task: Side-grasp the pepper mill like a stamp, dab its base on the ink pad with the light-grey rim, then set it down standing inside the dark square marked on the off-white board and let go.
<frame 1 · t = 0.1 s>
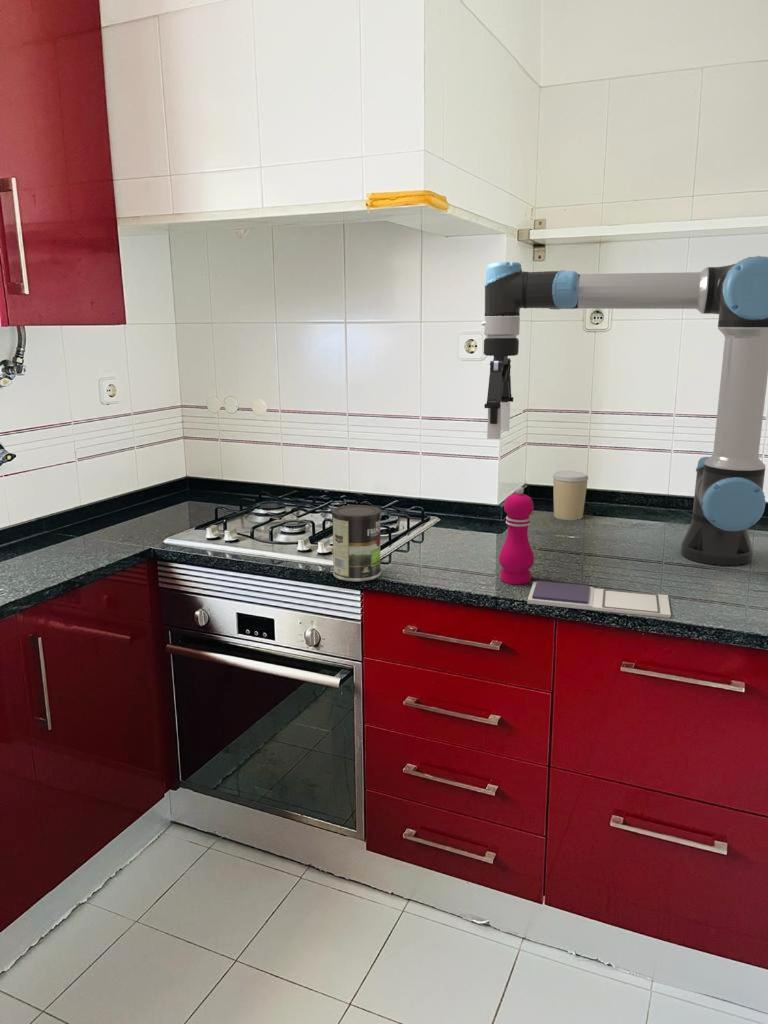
hand: (498, 434, 175), 28 cm above the worktop, tool pointing down, fingers open, 13 cm apart
coffee cup: (568, 517, 217), on the worktop
coffee can: (356, 574, 168), on the worktop
pepper mill: (515, 580, 165), on the worktop
ink pad: (561, 597, 154), on the worktop
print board: (630, 603, 151), on the worktop
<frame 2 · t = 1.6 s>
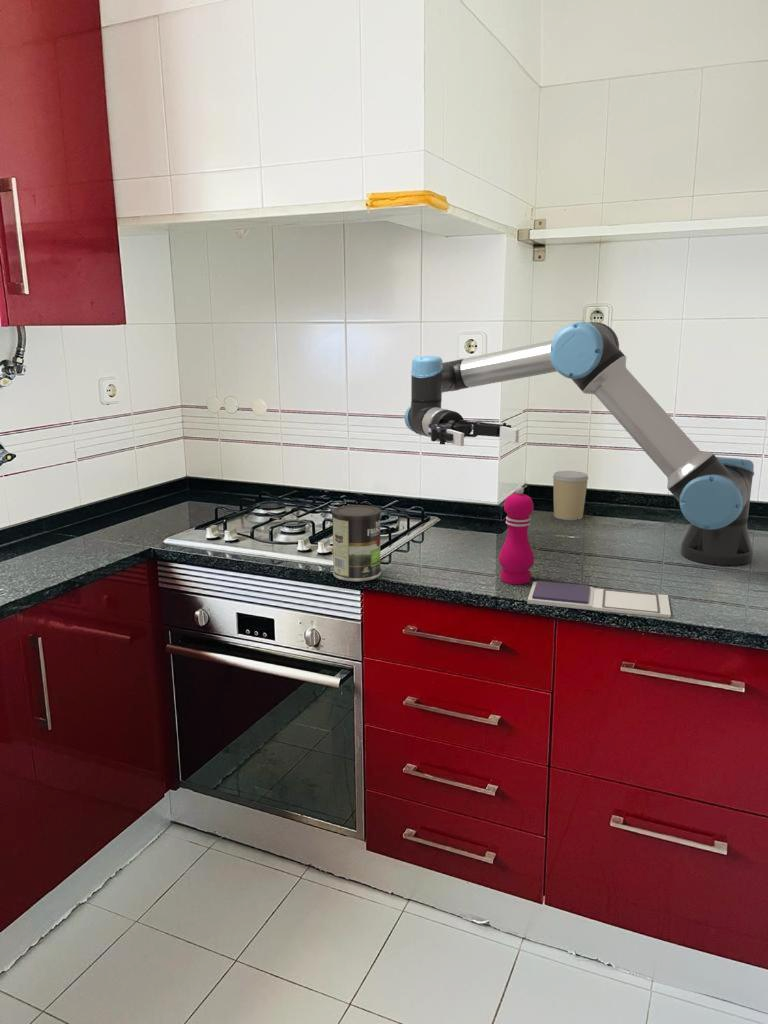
hand: (490, 438, 169), 28 cm above the worktop, tool horizontal, fingers open, 13 cm apart
nothing on the worktop moved.
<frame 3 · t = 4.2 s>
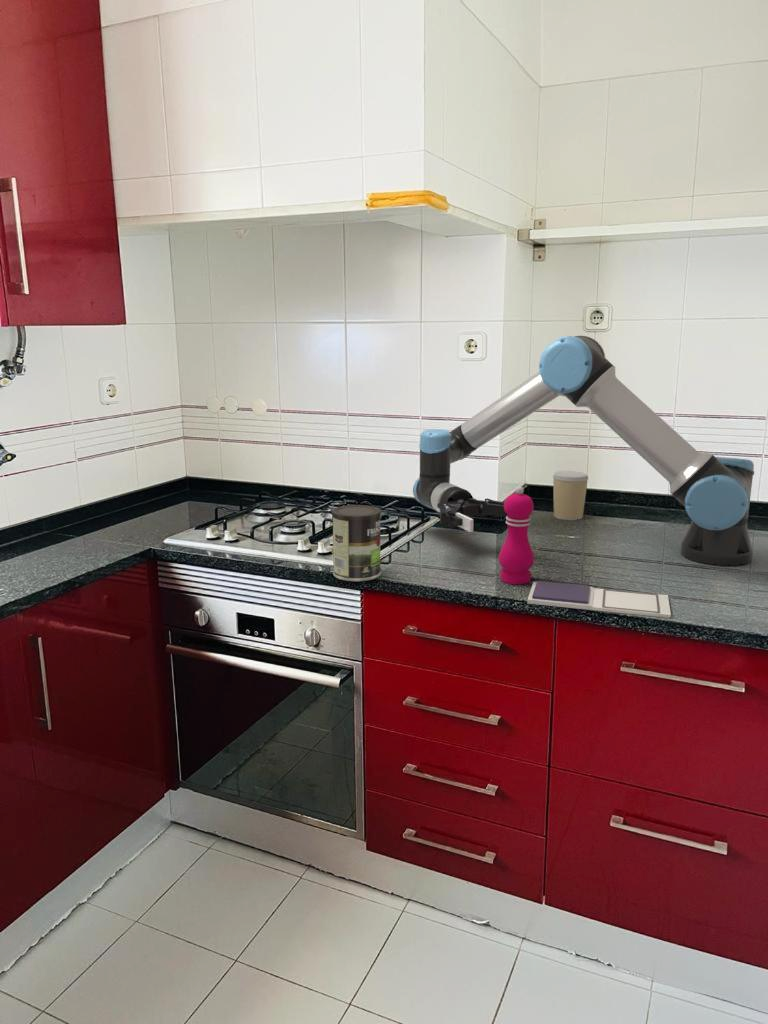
hand: (499, 522, 167), 11 cm above the worktop, tool horizontal, fingers open, 13 cm apart
nothing on the worktop moved.
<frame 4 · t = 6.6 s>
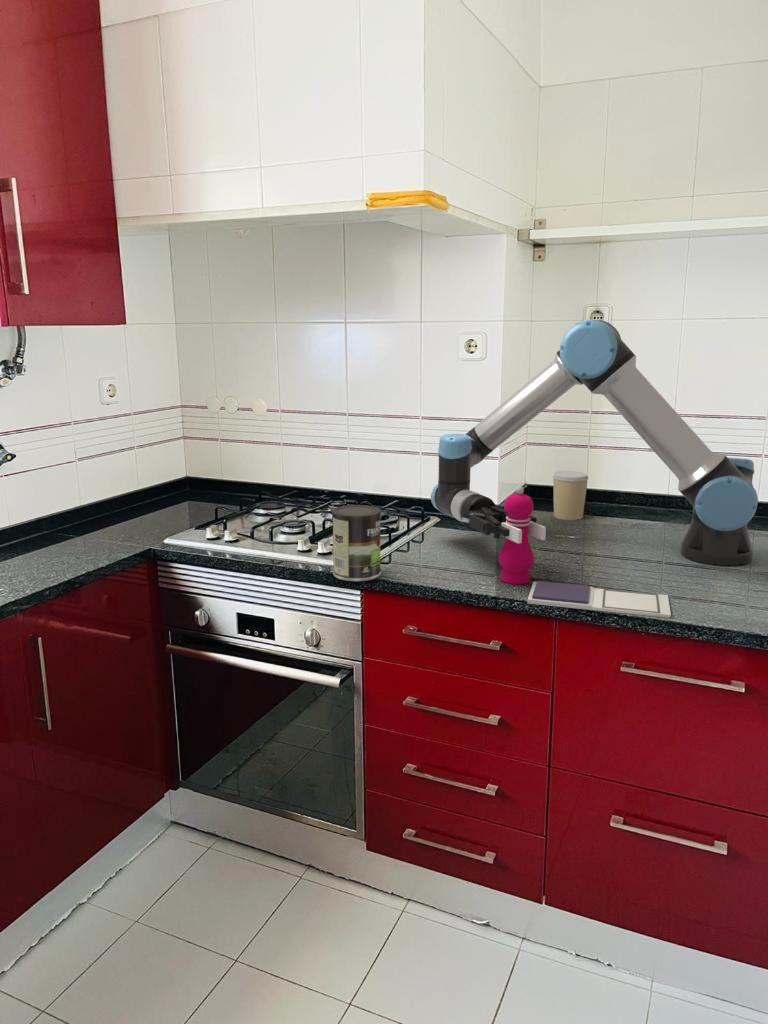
hand: (532, 535, 157), 11 cm above the worktop, tool horizontal, fingers closed on pepper mill, 5 cm apart
pepper mill: (515, 580, 165), on the worktop, touching gripper
everything else where it was.
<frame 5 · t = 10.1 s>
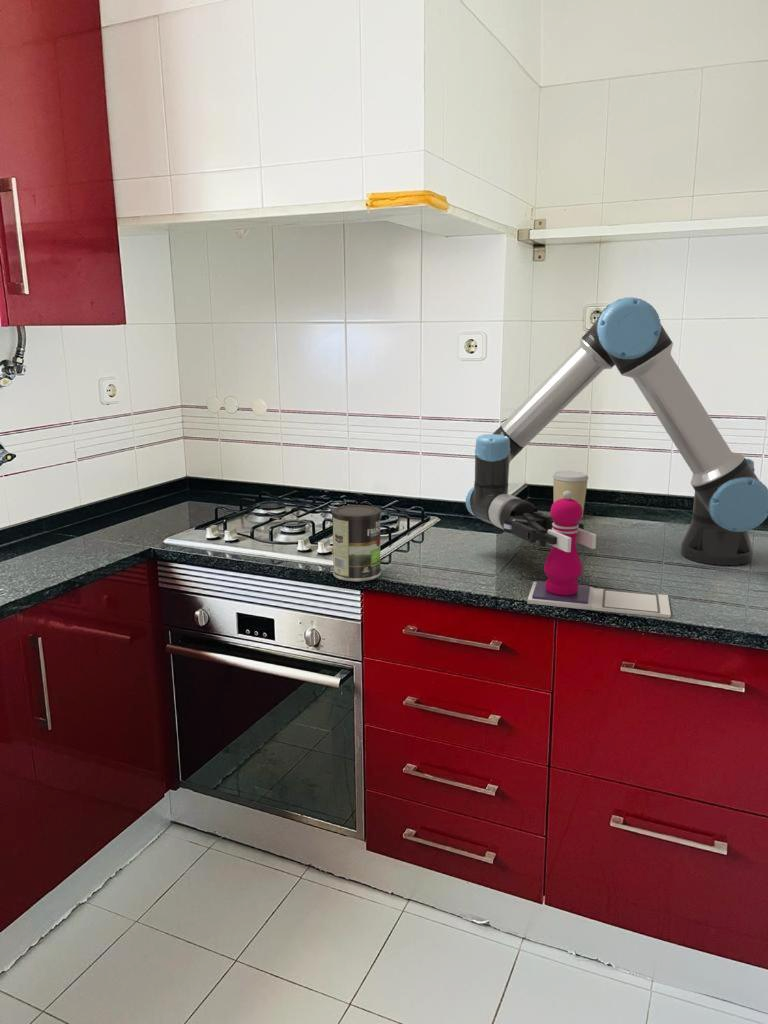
hand: (581, 543, 147), 12 cm above the worktop, tool horizontal, fingers closed on pepper mill, 5 cm apart
pepper mill: (561, 591, 154), point 1 cm above the worktop, touching gripper
everything else where it was.
when the fingers open (13 cm above the worktop, at t = 13.6 s): pepper mill drops 1 cm, resting on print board.
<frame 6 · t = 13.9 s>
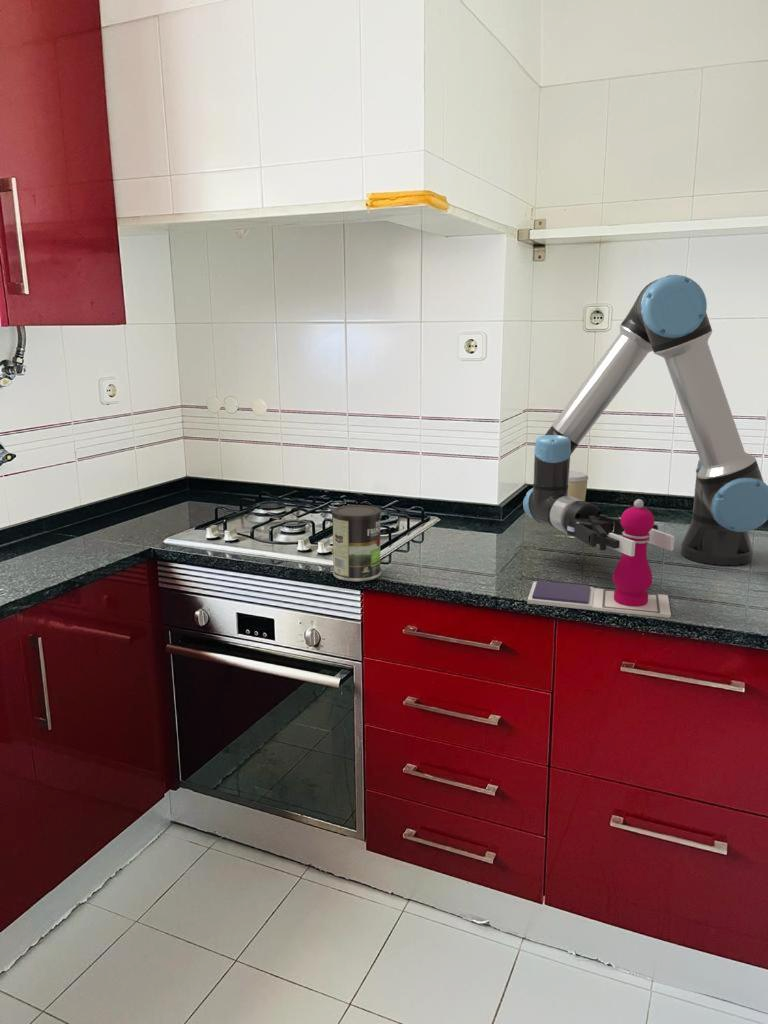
hand: (653, 546, 143), 13 cm above the worktop, tool horizontal, fingers open, 8 cm apart
pepper mill: (630, 601, 151), resting on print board
everything else where it was.
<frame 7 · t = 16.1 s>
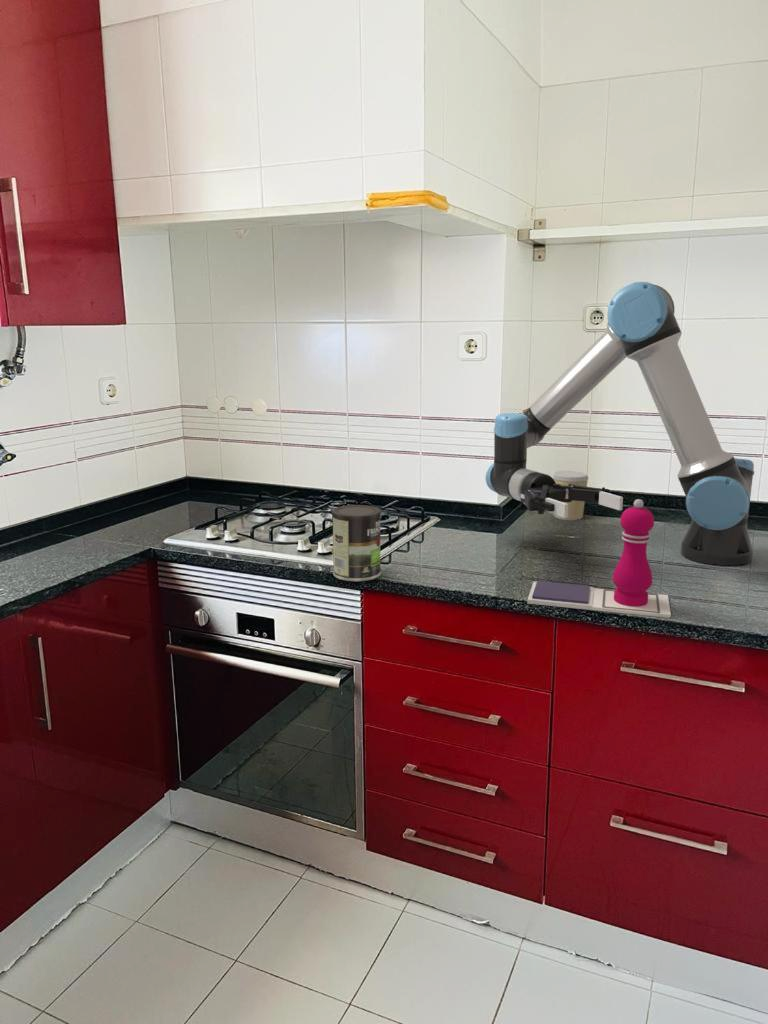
hand: (594, 507, 157), 16 cm above the worktop, tool horizontal, fingers open, 13 cm apart
nothing on the worktop moved.
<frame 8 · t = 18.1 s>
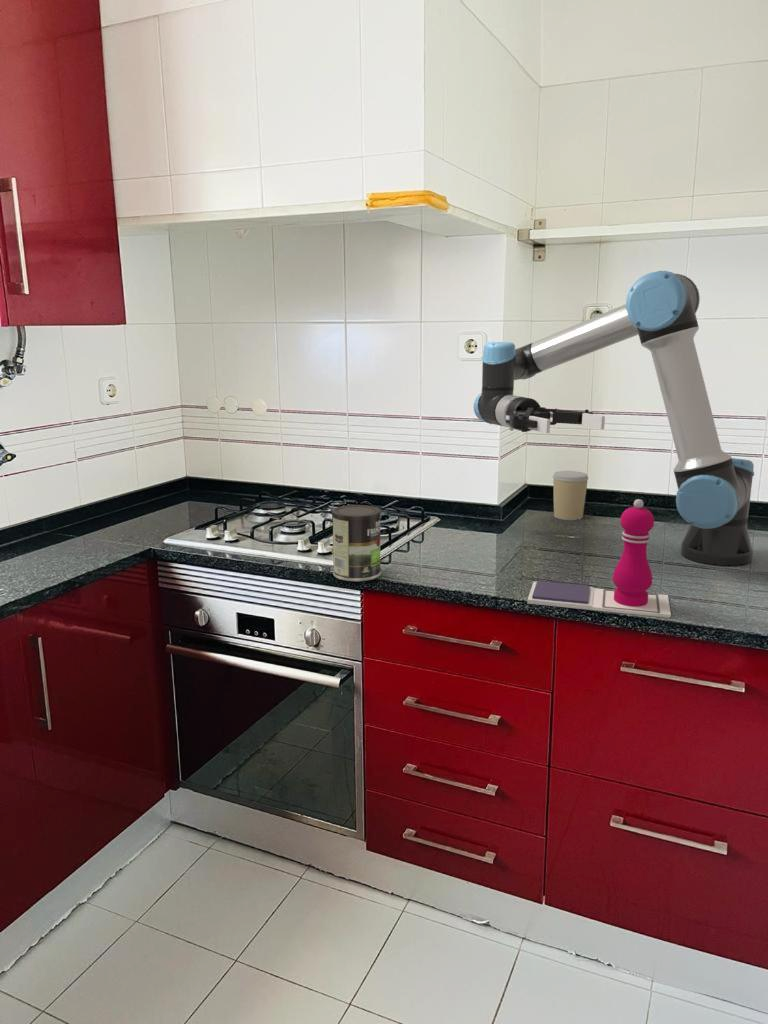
hand: (576, 424, 161), 32 cm above the worktop, tool horizontal, fingers open, 13 cm apart
nothing on the worktop moved.
at the end: pepper mill inside the target area on the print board (0.0 cm from its centre), point 0.4 cm above the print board's base; pepper mill tilted 0°; the gripper is holding nothing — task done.
